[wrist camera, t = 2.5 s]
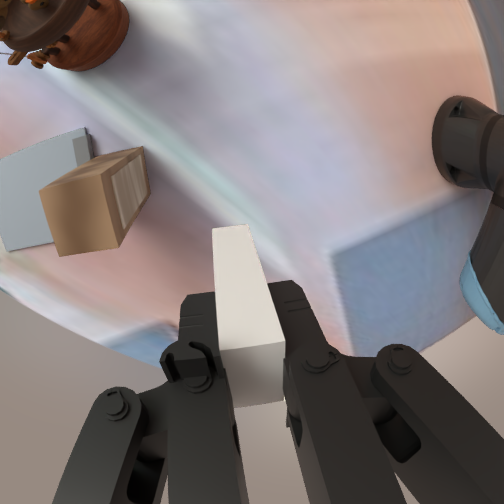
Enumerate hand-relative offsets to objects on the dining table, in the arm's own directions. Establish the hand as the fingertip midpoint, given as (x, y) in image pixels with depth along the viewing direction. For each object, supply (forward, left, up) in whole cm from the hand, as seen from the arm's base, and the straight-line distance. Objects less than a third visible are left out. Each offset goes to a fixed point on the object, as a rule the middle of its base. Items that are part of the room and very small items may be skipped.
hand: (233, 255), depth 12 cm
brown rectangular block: (+12, 0, -23) cm, 26 cm away
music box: (+14, -20, -23) cm, 33 cm away
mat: (+25, 0, -23) cm, 34 cm away
